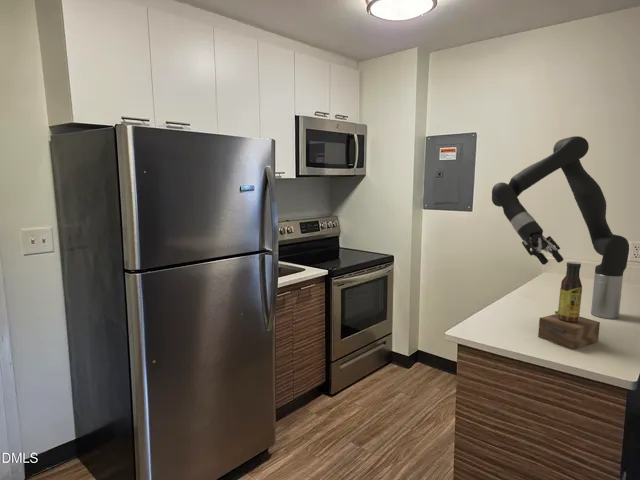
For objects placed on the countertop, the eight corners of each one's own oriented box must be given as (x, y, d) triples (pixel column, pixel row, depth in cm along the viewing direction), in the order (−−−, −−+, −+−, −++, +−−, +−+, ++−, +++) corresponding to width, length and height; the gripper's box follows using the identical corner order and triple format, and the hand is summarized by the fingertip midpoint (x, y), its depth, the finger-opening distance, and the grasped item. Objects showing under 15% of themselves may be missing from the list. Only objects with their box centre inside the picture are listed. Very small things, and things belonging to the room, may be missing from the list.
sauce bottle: (571, 324, 132) (576, 265, 129) (553, 318, 138) (558, 261, 135) (583, 321, 135) (588, 263, 132) (564, 315, 141) (569, 260, 138)
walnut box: (562, 330, 146) (564, 312, 145) (598, 342, 135) (599, 322, 134) (536, 337, 139) (538, 318, 138) (571, 350, 128) (573, 329, 127)
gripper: (520, 221, 142) (548, 257, 134) (545, 219, 149) (574, 254, 140) (506, 234, 148) (533, 270, 139) (531, 232, 154) (558, 266, 146)
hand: (553, 262), depth 140 cm, fingers open, 8 cm apart
